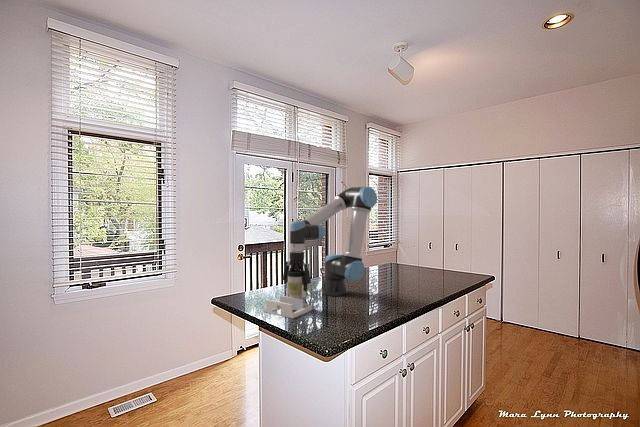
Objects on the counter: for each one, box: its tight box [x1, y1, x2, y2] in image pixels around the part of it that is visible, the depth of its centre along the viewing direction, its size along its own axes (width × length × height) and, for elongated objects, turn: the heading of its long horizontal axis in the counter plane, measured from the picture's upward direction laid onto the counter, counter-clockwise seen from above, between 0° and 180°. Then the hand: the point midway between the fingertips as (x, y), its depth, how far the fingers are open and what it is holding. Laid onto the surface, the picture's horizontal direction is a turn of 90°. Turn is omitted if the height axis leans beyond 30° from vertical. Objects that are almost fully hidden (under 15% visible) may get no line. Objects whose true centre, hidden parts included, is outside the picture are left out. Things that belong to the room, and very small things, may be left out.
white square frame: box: [263, 299, 314, 319], centre depth 168 cm, size 17×17×6 cm
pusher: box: [272, 295, 304, 312], centre depth 164 cm, size 15×14×6 cm
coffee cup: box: [287, 270, 305, 300], centre depth 173 cm, size 10×10×15 cm
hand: (296, 295), depth 173 cm, fingers closed on coffee cup, 9 cm apart
